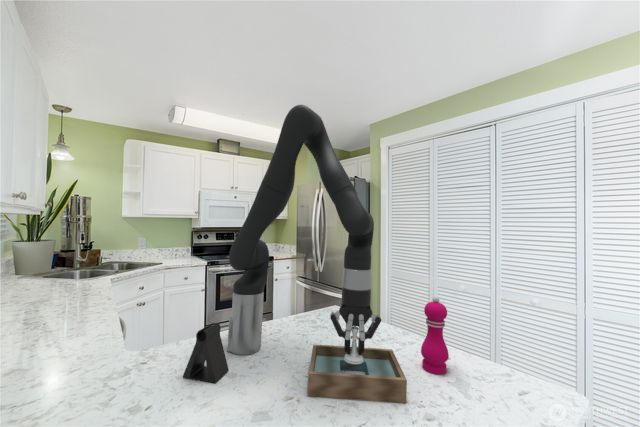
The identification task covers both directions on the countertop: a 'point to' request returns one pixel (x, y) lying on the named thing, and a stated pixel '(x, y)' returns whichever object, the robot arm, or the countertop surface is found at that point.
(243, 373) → the countertop surface
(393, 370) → the box
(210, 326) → the phone stand
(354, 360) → the chess piece
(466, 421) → the countertop surface
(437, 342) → the pepper mill
